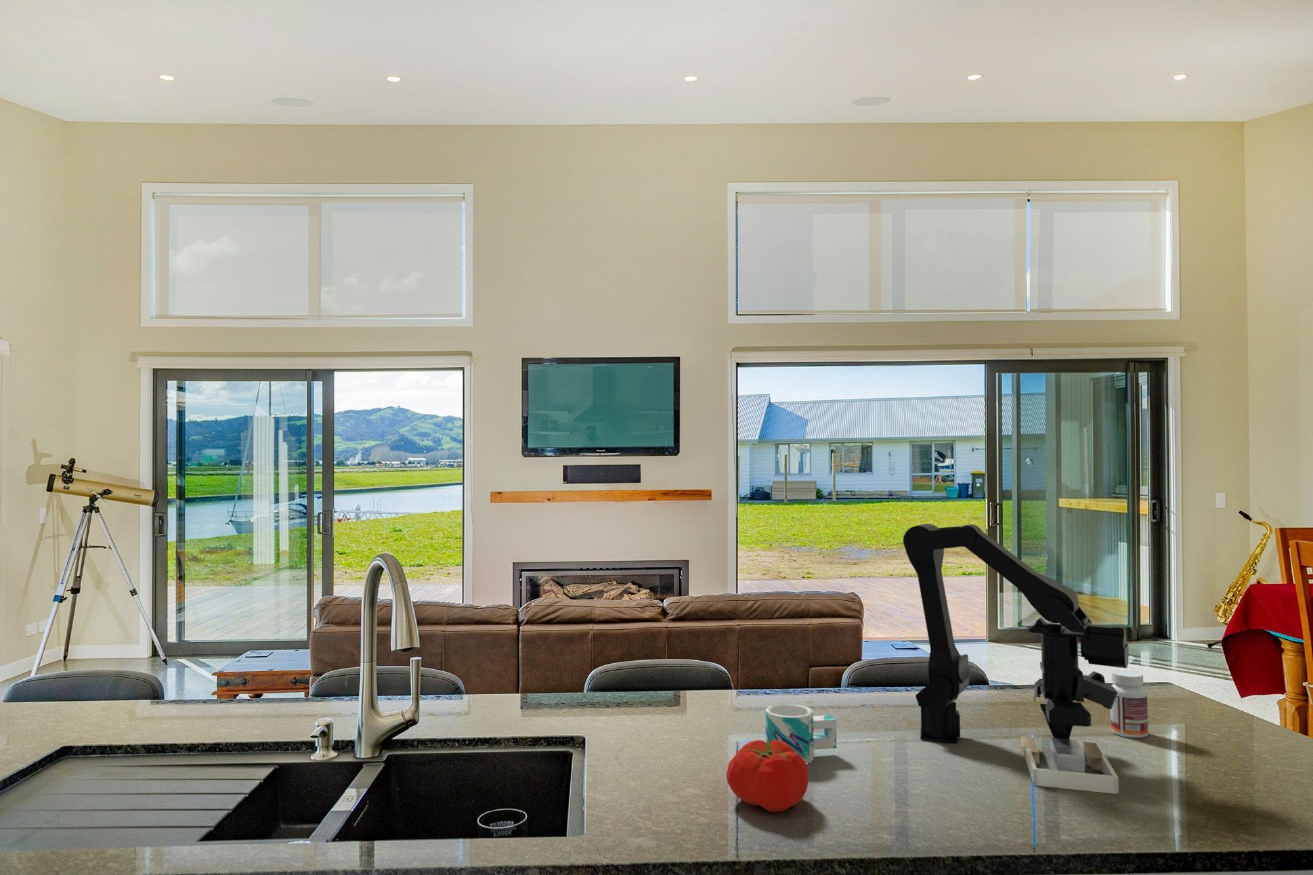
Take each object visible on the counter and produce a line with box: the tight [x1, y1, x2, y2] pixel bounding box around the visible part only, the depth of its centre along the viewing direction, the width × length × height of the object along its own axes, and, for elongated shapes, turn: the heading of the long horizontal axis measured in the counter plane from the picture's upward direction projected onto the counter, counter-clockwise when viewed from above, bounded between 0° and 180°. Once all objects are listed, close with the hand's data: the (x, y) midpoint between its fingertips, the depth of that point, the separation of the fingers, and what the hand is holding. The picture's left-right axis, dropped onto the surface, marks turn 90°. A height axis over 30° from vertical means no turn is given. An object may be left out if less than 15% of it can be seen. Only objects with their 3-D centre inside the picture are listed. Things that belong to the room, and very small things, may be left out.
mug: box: [765, 703, 837, 764], centre depth 144 cm, size 8×12×8 cm
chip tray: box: [1025, 748, 1120, 795], centre depth 134 cm, size 12×10×2 cm
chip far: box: [1050, 737, 1082, 768], centre depth 139 cm, size 4×4×4 cm
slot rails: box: [1020, 735, 1103, 771], centre depth 142 cm, size 12×8×2 cm, turn 72°
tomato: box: [725, 739, 809, 813], centre depth 125 cm, size 13×12×8 cm
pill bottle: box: [1109, 669, 1149, 739], centre depth 155 cm, size 6×6×11 cm
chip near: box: [1053, 745, 1086, 773], centre depth 135 cm, size 4×4×4 cm
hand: (1062, 751), depth 142 cm, fingers closed
